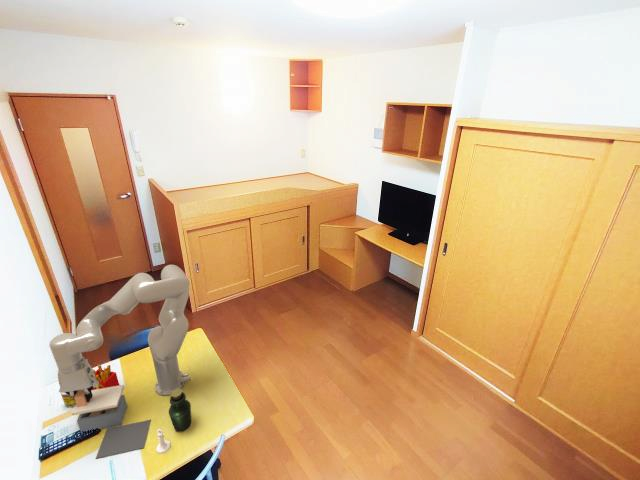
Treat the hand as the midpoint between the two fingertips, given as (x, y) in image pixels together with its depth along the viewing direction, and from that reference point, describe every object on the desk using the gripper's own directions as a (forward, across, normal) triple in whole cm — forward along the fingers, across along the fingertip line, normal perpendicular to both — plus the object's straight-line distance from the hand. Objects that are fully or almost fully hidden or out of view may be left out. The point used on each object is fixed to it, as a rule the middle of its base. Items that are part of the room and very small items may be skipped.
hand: (84, 399), depth 123 cm
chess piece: (+13, -30, +19) cm, 37 cm away
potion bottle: (+13, -36, +11) cm, 40 cm away
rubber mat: (+12, -15, +11) cm, 22 cm away
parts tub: (+12, -5, 0) cm, 13 cm away
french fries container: (+13, -1, -14) cm, 19 cm away
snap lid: (+2, -5, 0) cm, 5 cm away
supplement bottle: (+13, +11, -12) cm, 21 cm away
